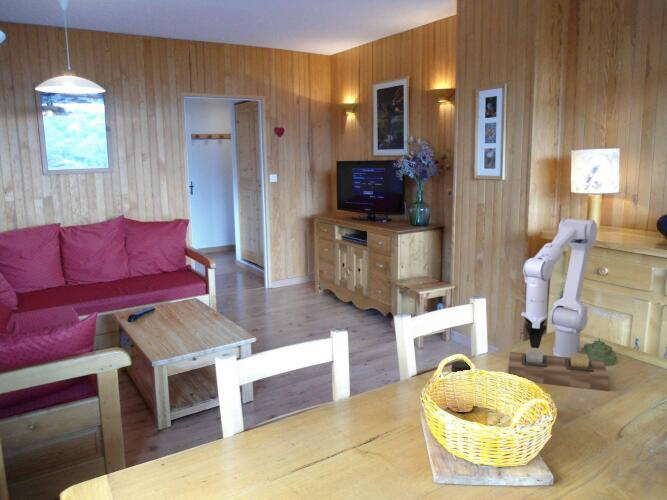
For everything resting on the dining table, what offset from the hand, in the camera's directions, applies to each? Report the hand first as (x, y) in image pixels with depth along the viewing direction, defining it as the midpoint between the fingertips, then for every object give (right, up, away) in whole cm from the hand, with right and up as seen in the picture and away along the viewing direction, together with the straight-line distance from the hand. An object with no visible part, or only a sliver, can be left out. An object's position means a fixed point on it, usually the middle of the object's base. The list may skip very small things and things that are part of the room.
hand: (534, 344), depth 154 cm
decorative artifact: (+24, -7, +11) cm, 27 cm away
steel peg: (0, -7, +1) cm, 7 cm away
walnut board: (+6, -9, 0) cm, 11 cm away
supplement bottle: (-26, -14, -17) cm, 34 cm away
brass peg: (+11, -7, -3) cm, 14 cm away
